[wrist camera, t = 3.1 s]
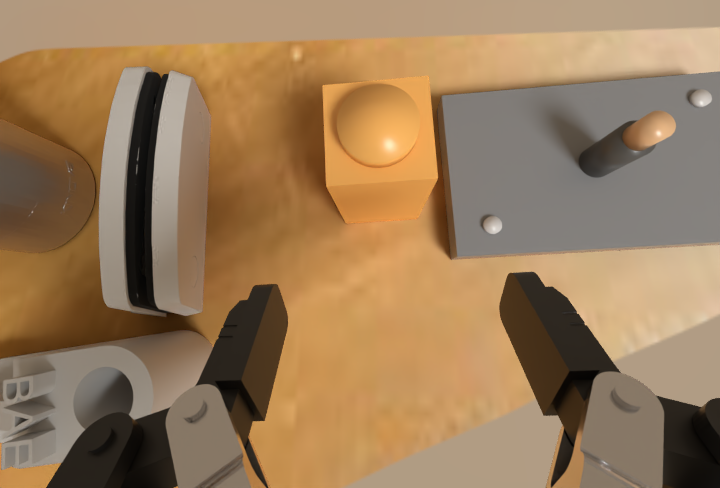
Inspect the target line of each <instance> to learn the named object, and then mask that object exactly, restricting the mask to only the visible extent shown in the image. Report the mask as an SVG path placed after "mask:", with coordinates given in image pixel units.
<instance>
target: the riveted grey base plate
mask: <svg viewBox="0 0 720 488" xmlns="http://www.w3.org/2000/svg"><path fill="white" fill-rule="evenodd" d="M437 117H438V128H439V139H440V149H441V160H442V171H443V181H444V192H445V202H446V213H447V224H448V234H449V245H450V255H451V260H452V259H470V258H488V257H505V256H523V255H541V254H559V253H577V252H595V251H613V250H631V249H649V248H666V247H684V246H702V245H720V72H710V73H698V74H686V75H675V76H663V77H652V78H640V79H628V80H617V81H605V82H594V83H582V84H571V85H559V86H547V87H536V88H524V89H513V90H501V91H489V92H478V93H466V94H455V95H443V96H441V100H440V103H439V106H438V109H437Z"/></svg>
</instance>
